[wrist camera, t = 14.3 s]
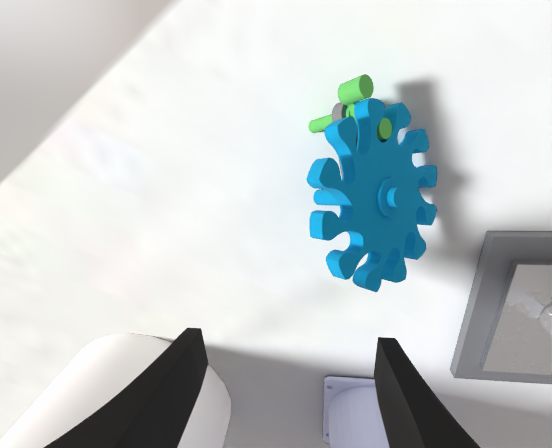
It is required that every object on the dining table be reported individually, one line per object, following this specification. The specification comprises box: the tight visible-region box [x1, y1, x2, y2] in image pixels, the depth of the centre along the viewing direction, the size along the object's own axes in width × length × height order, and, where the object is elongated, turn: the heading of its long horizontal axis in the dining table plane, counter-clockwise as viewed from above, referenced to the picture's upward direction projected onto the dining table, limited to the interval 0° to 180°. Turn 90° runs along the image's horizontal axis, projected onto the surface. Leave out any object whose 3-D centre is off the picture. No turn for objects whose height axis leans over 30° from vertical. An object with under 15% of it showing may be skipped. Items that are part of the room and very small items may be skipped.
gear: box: [307, 74, 437, 292], centre depth 17 cm, size 11×6×10 cm
